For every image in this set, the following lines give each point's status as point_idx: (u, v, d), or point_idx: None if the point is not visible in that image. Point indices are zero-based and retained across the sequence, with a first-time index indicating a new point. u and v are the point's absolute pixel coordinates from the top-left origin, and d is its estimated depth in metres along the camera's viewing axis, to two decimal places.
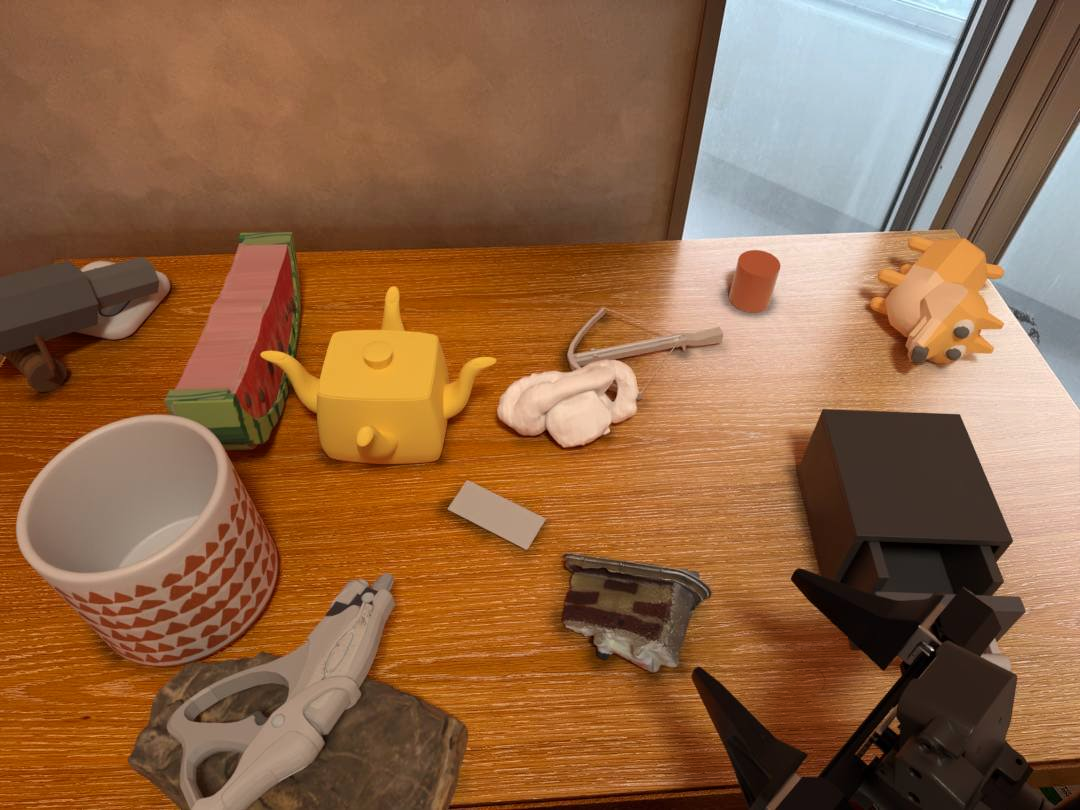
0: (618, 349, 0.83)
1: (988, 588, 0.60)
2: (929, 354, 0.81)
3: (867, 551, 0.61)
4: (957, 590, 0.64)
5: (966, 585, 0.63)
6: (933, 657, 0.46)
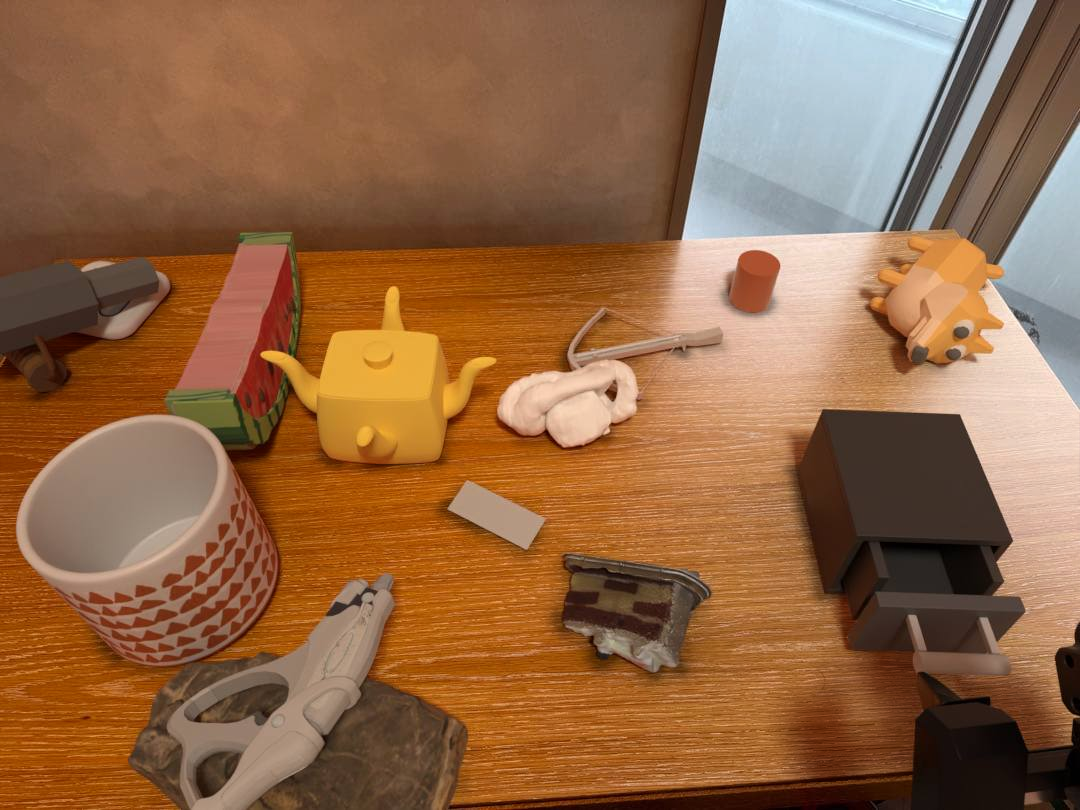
0: (618, 349, 0.83)
1: (988, 588, 0.60)
2: (929, 354, 0.81)
3: (867, 551, 0.61)
4: (957, 590, 0.64)
5: (966, 585, 0.63)
6: None
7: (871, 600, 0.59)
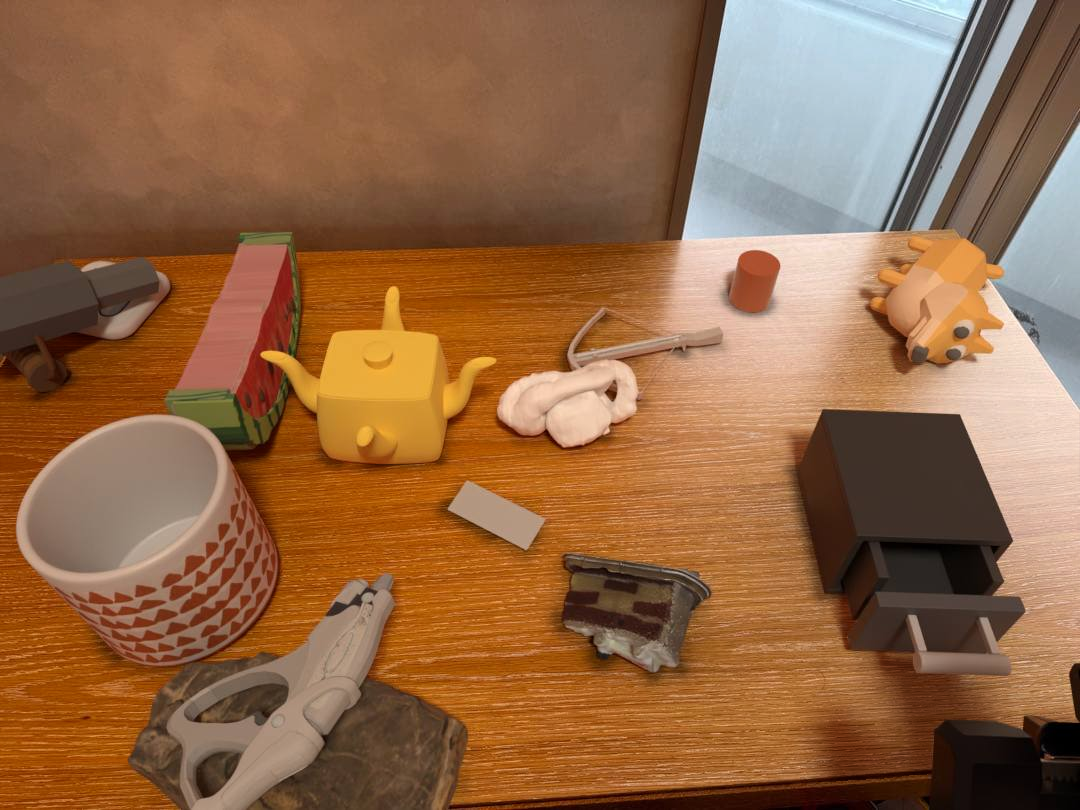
0: (618, 349, 0.83)
1: (988, 588, 0.60)
2: (929, 354, 0.81)
3: (867, 551, 0.61)
4: (957, 590, 0.64)
5: (966, 585, 0.63)
6: None
7: (871, 600, 0.59)
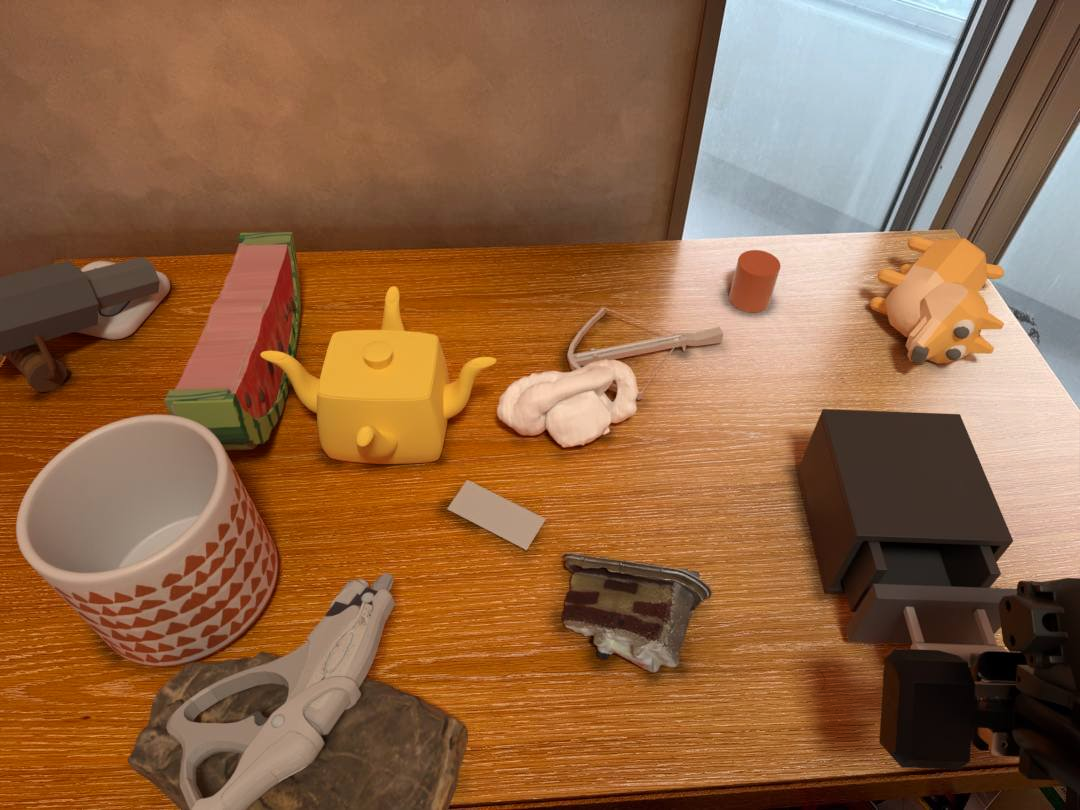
0: (618, 349, 0.83)
1: (986, 580, 0.60)
2: (929, 354, 0.81)
3: (865, 544, 0.62)
4: (955, 583, 0.65)
5: (963, 578, 0.63)
6: None
7: (869, 592, 0.59)
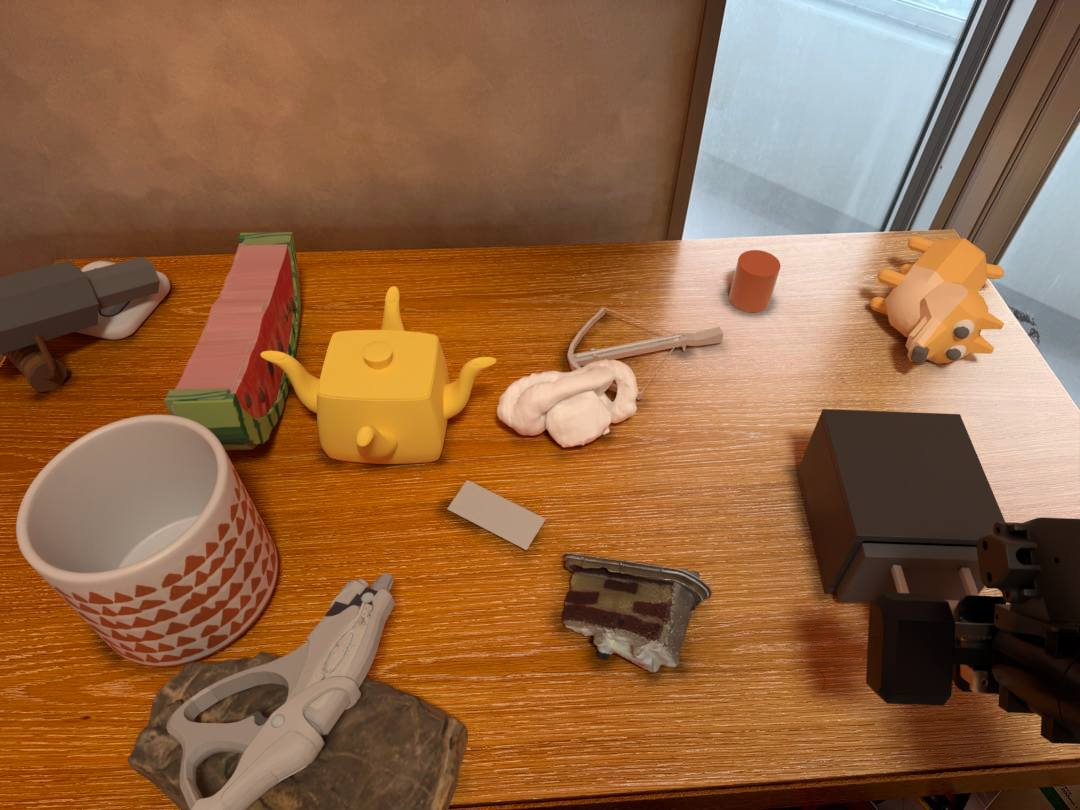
0: (618, 349, 0.83)
1: None
2: (929, 354, 0.81)
3: None
4: (941, 546, 0.67)
5: None
6: None
7: (858, 551, 0.62)
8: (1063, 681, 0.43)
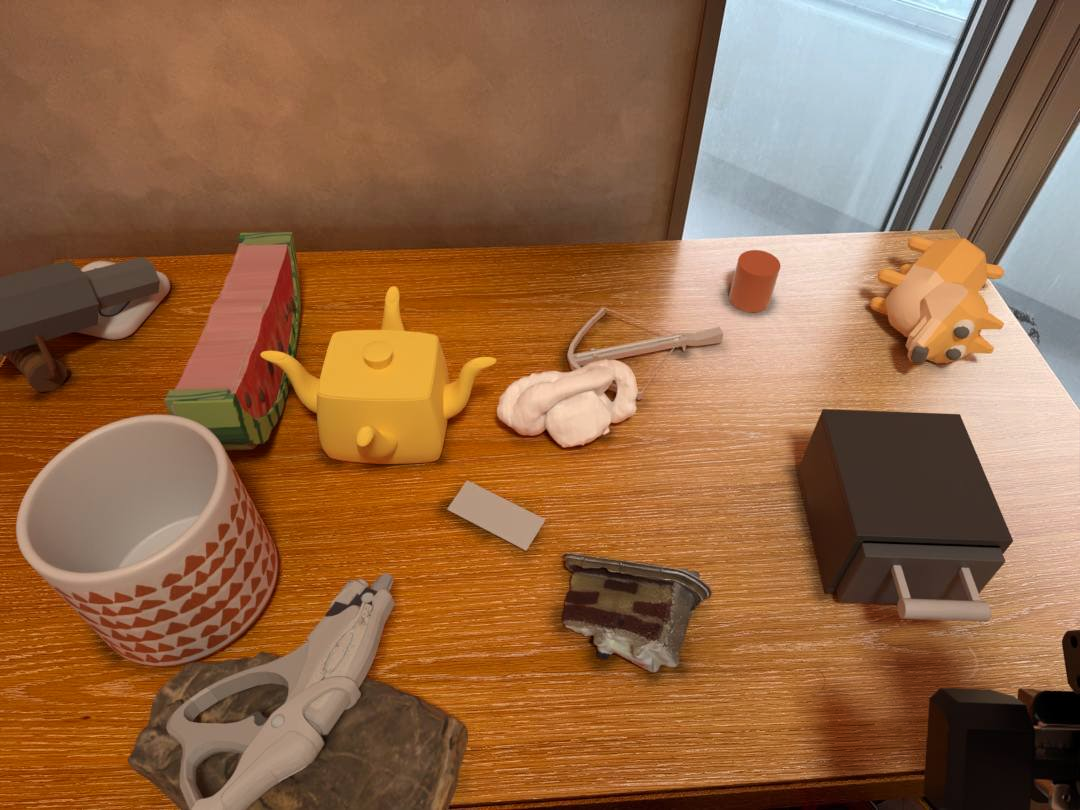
0: (618, 349, 0.83)
1: None
2: (929, 354, 0.81)
3: None
4: (941, 546, 0.67)
5: None
6: None
7: (858, 552, 0.62)
8: None
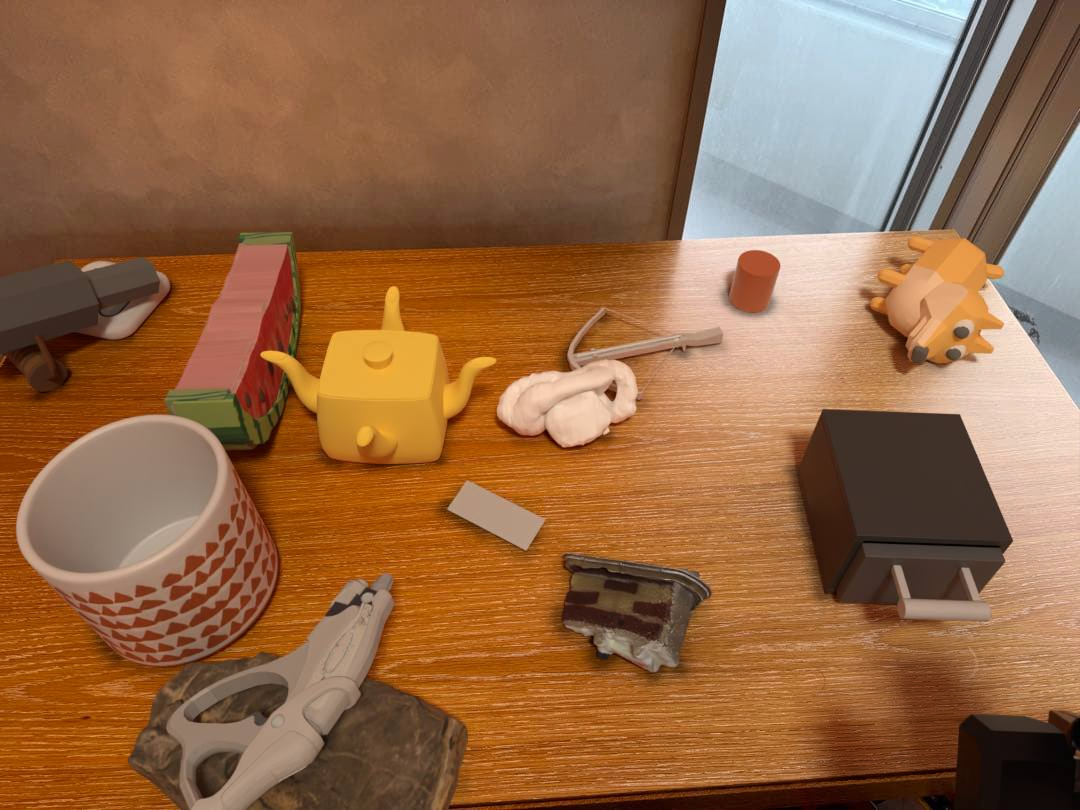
0: (618, 349, 0.83)
1: None
2: (929, 354, 0.81)
3: None
4: (941, 546, 0.67)
5: None
6: None
7: (858, 552, 0.62)
8: None
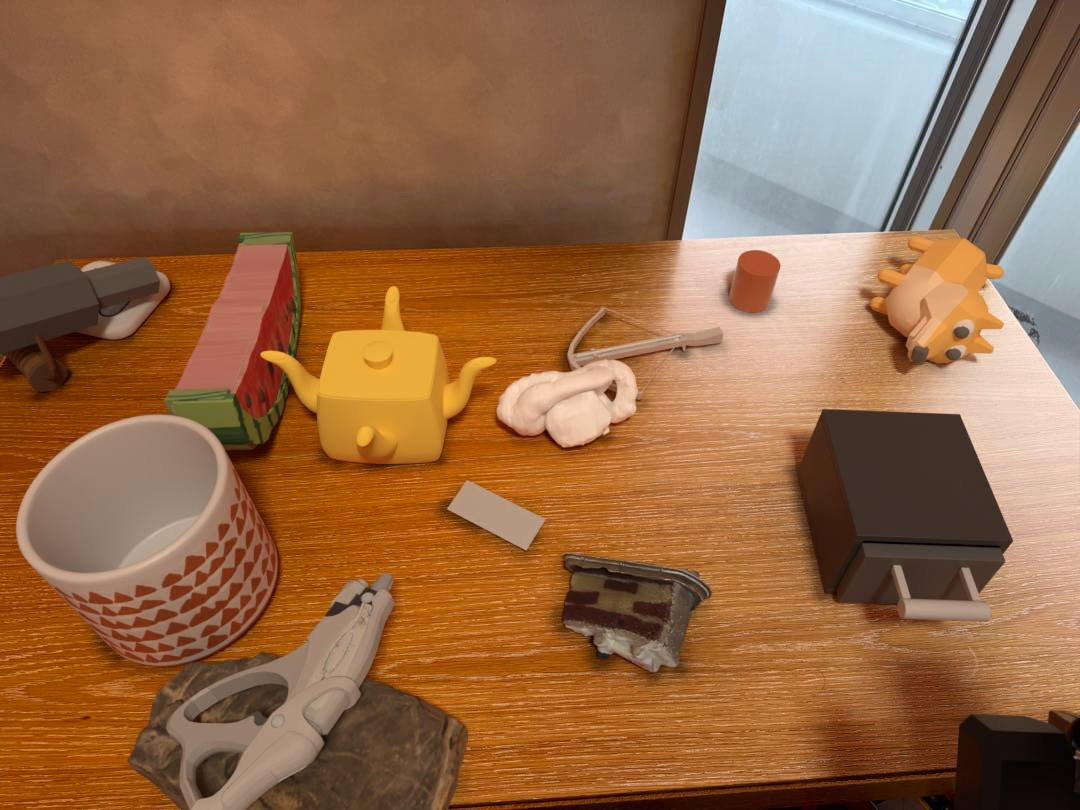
0: (618, 349, 0.83)
1: None
2: (929, 354, 0.81)
3: None
4: (941, 546, 0.67)
5: None
6: None
7: (858, 552, 0.62)
8: None
